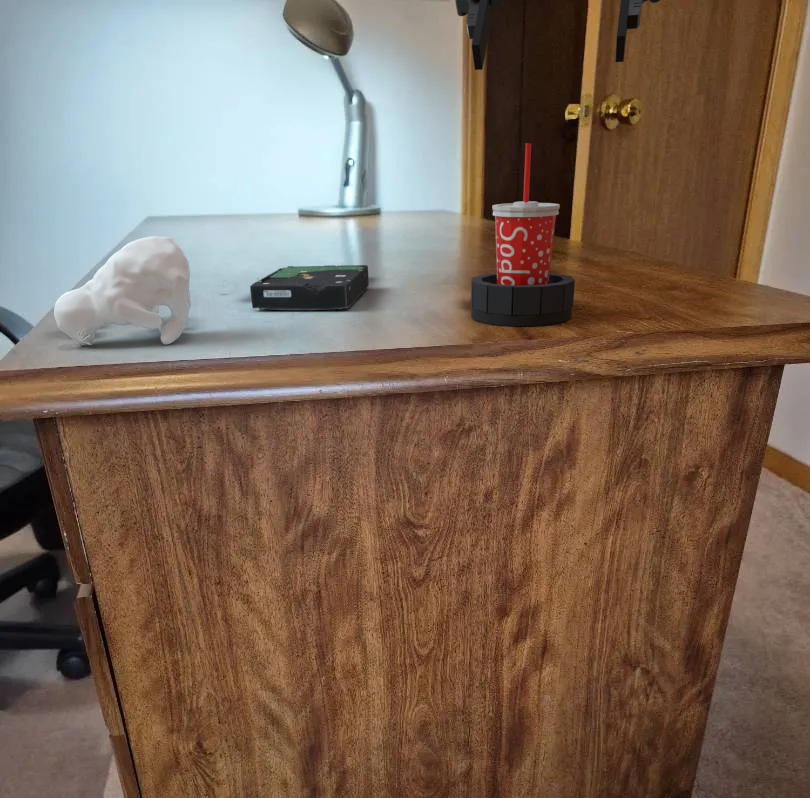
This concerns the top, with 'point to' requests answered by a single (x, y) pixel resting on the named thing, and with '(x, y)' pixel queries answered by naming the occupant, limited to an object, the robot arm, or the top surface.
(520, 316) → the segmented ring
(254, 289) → the disk drive
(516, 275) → the beverage cup
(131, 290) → the white lumpy figure
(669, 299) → the top surface
